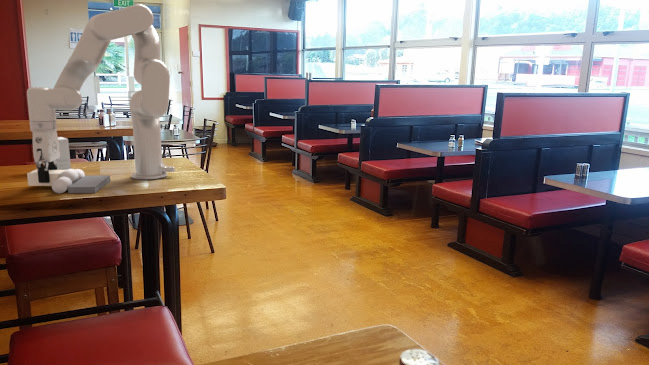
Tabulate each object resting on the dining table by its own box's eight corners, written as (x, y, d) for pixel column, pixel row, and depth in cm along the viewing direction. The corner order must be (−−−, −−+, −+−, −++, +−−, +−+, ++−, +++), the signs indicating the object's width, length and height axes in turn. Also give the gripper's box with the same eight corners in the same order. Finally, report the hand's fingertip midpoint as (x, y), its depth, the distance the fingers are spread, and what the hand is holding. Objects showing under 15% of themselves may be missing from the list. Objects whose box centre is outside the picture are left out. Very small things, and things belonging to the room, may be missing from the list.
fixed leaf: (110, 180, 174) (109, 168, 173) (95, 192, 157) (94, 179, 156) (72, 181, 172) (70, 168, 172) (52, 193, 155) (50, 179, 154)
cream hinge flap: (78, 181, 167) (77, 168, 166) (72, 185, 161) (71, 172, 160) (36, 181, 165) (35, 168, 164) (28, 185, 159) (26, 172, 158)
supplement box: (65, 168, 194) (62, 136, 191) (71, 171, 189) (68, 138, 186) (44, 170, 189) (41, 138, 186) (50, 173, 184) (47, 140, 181)
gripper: (45, 129, 151) (50, 186, 155) (65, 123, 168) (69, 175, 172) (18, 128, 150) (25, 186, 154) (41, 123, 167) (46, 175, 170)
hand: (48, 179), depth 163 cm, fingers closed on cream hinge flap, 6 cm apart
